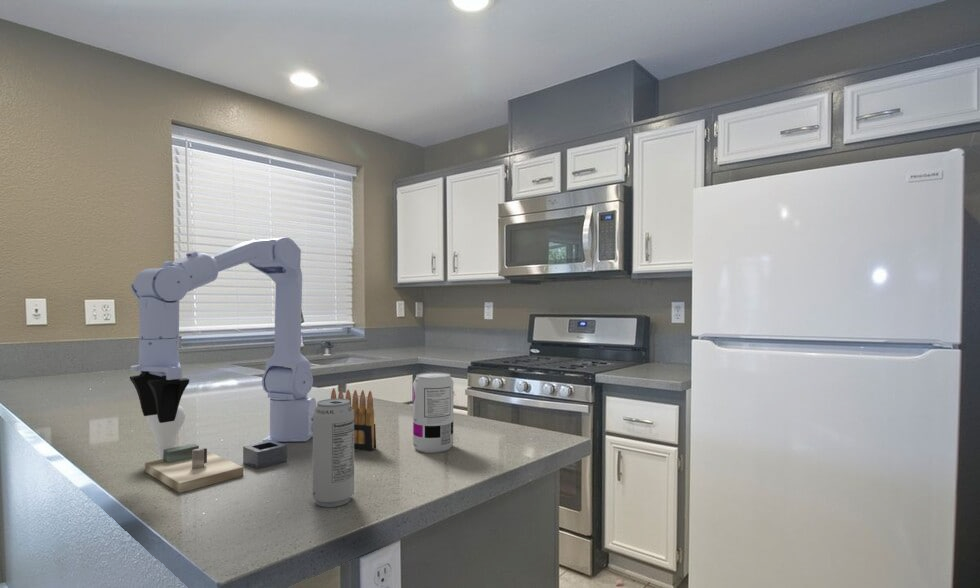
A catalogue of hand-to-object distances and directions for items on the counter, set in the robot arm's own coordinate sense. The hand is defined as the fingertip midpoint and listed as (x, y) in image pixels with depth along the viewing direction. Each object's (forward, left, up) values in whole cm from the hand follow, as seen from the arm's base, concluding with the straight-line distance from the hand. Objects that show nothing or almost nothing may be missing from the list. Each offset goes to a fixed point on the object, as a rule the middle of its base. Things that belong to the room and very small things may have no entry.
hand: (158, 418), depth 86 cm
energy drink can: (-32, +10, -11) cm, 35 cm away
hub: (-14, -9, -10) cm, 20 cm away
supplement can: (-45, -17, -11) cm, 49 cm away
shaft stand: (-4, -3, -10) cm, 12 cm away
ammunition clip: (-28, -18, -11) cm, 35 cm away
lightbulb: (+5, -11, -11) cm, 16 cm away
